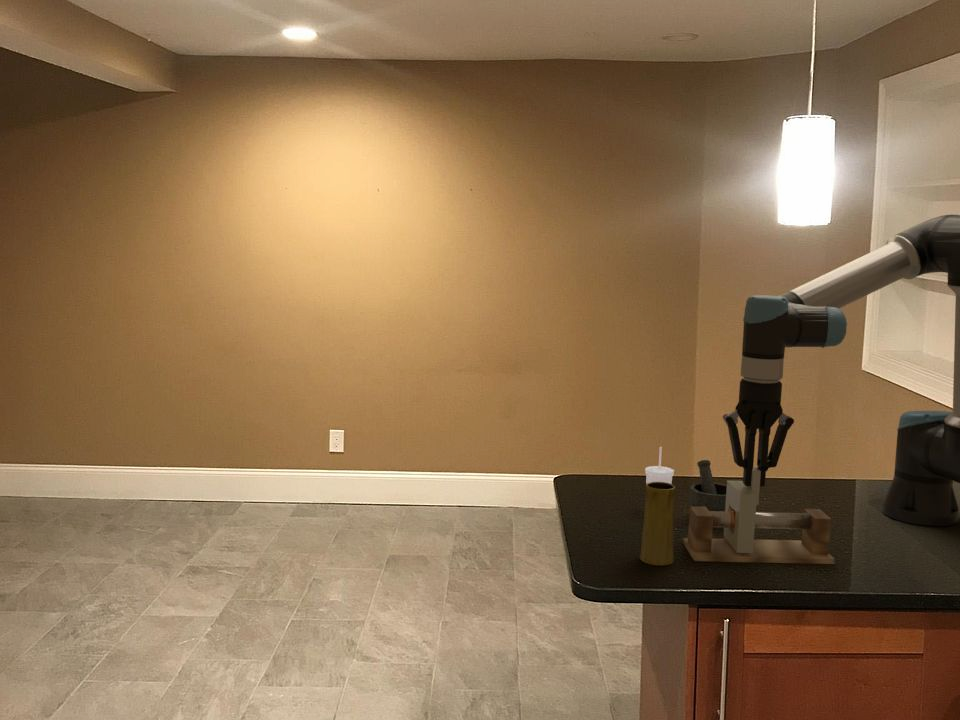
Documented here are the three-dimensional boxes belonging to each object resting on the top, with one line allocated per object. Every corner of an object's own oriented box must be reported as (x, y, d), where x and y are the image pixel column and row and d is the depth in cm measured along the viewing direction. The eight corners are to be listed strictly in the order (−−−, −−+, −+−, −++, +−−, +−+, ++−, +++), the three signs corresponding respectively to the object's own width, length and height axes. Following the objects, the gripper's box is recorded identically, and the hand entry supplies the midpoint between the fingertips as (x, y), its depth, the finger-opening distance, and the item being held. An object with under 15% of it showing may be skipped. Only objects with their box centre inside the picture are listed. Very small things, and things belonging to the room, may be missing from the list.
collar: (738, 535, 191) (742, 480, 189) (752, 553, 181) (757, 495, 180) (723, 535, 191) (727, 480, 189) (736, 552, 181) (740, 494, 180)
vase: (666, 568, 177) (670, 492, 175) (634, 561, 180) (638, 486, 178) (678, 559, 182) (682, 484, 180) (647, 552, 185) (651, 479, 183)
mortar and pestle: (743, 527, 202) (748, 470, 200) (702, 529, 200) (706, 472, 198) (717, 510, 213) (720, 456, 211) (677, 512, 210) (681, 458, 209)
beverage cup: (677, 511, 211) (681, 448, 209) (657, 516, 208) (660, 451, 206) (657, 504, 216) (660, 442, 214) (637, 508, 213) (640, 445, 211)
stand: (815, 545, 192) (818, 506, 190) (834, 564, 182) (837, 522, 180) (682, 542, 191) (685, 503, 190) (694, 561, 181) (696, 519, 180)
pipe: (815, 527, 188) (817, 509, 187) (822, 533, 184) (823, 515, 184) (695, 524, 187) (696, 507, 187) (699, 530, 184) (701, 512, 183)
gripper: (789, 376, 185) (780, 497, 189) (720, 375, 185) (713, 496, 189) (803, 383, 178) (793, 509, 181) (731, 382, 178) (723, 507, 181)
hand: (752, 502), depth 185 cm, fingers closed
